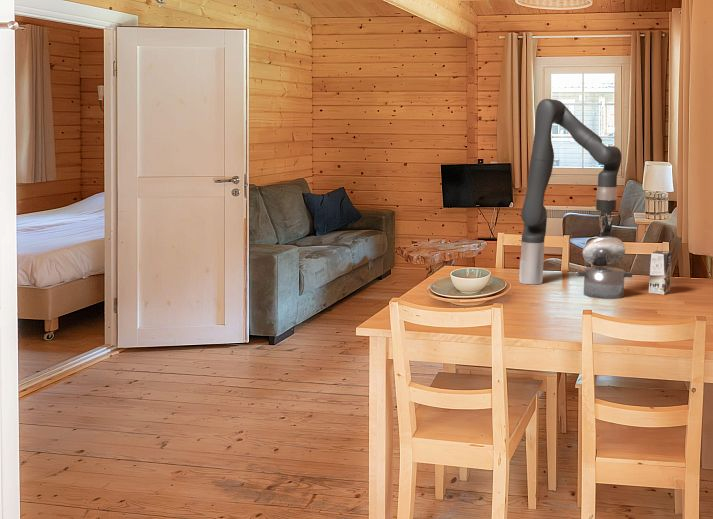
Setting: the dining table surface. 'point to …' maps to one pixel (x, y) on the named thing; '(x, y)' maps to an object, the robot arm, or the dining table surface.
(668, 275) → the coffee box
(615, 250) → the lid
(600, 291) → the cooker body
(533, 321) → the dining table surface
